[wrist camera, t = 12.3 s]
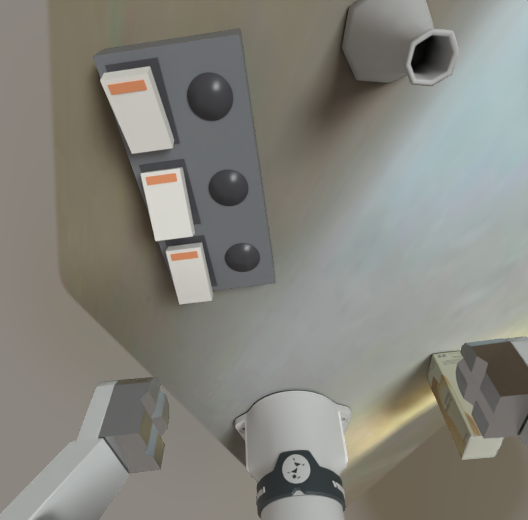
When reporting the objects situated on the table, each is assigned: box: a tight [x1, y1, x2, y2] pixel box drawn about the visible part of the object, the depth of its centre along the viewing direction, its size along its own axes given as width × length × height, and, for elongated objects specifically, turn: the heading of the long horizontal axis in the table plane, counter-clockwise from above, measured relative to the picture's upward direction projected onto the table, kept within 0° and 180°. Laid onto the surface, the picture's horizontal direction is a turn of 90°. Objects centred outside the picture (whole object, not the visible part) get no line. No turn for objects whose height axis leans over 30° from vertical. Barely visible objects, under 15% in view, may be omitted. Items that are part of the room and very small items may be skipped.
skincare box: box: [427, 351, 504, 460], centre depth 53 cm, size 6×4×12 cm
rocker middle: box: [140, 167, 195, 241], centre depth 35 cm, size 6×3×1 cm, turn 7°
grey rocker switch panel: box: [93, 29, 276, 294], centre depth 37 cm, size 24×11×4 cm, turn 7°
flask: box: [342, 0, 460, 86], centre depth 28 cm, size 7×7×10 cm
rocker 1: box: [100, 66, 174, 154], centre depth 30 cm, size 6×3×1 cm, turn 7°
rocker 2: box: [166, 242, 213, 304], centre depth 40 cm, size 6×3×1 cm, turn 7°
